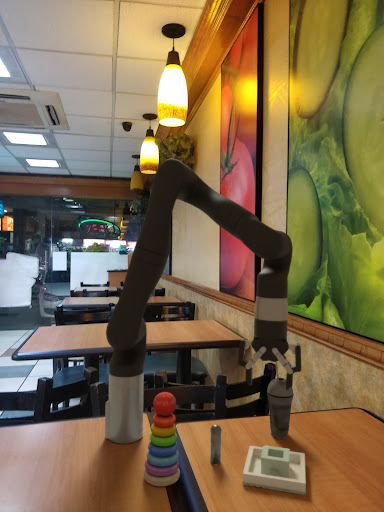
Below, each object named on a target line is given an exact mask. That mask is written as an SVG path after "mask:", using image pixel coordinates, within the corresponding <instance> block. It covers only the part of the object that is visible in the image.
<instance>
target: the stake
mask: <svg viewBox="0 0 384 512" xmlns="http://www.w3.org/2000/svg"><path fill="white" fill-rule="evenodd" d="M221 444H222V428H221V425H219V424H213V425H212V426H211V428H210V464H212V465H215V464H217V465H220V464H221V458H222V453H221V452H222V450H221V449H222V447H221V446H222V445H221Z"/></svg>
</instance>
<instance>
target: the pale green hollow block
mask: <svg viewBox="0 0 384 512" xmlns="http://www.w3.org/2000/svg"><path fill="white" fill-rule="evenodd" d="M262 447H263V451H262V456H261V474H265V475H271V476H278V477H284V478H289V464H290V450H291V449H290V448H286V447H285V448H284V447H280V446H279V447H278V446H272V445H266V444H265V445H263V446H262Z"/></svg>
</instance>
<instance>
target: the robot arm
mask: <svg viewBox="0 0 384 512" xmlns="http://www.w3.org/2000/svg"><path fill="white" fill-rule="evenodd" d="M177 200H179V201H182V202H184V203H186V204H189V205H191V206H193V207H195V208H196V209H198V210H200V211H201V212H203V213H204V214H205V215H206V216H208V218H210V219H211V220H212V221H213V222H214V223H215V224H216V225H217V226H219V227H220V228H221V229H223V230H224V231H226V232H227V233H228V234H230V235H231V236H233V237H234V238H236V239H237V240H239V241H240V242H241V243H243V245H244V246H246V247H247V249H248V250H250V252H252V253H253V254H254V255H255V256H257V257H258V258H261V259H263V261H262V268H261V271H260V272H259V273H258V274H257V279H256V292H255V294H256V296H255V302H254V310H253V311H254V312H253V315H254V319H253V320H254V321H253V322H254V323H253V325H254V326H253V339H252V340H249V339H246V338H245V337H244V338H241V340H240V341H239V346H238V347H239V348H238V357H237V358H238V359H237V365H238V366H240V367H243V368H244V369H245V379H244V381H245V383H247V386H251V387H252V385H253V374H254V373H253V369H254V368H253V366H254V365H255V364H256V363H257V362H258V361H259V359H260V360H261V361H262V362H267V361H269V362H272V363H275V362H279V363H280V364H281V366H282V367H283V368H284V369H285V371H286V374H285V375H286V377H285V379H286V390H289V388H293V383H294V380H293V379H294V374H295V373H301V371H302V345H301V344H300V343H299V342H297V343H295V344H290V343H289V342H288V323H289V322H288V317H289V304H288V290H289V289H288V286H289V285H288V283H289V280H288V278H289V274H290V270H291V265H292V264H291V263H292V258H293V249H294V248H293V242H292V239H291V237H290V236H289V234H287V233H286V232H285V231H282V230H277V229H274V228H272V227H270V226H268V225H267V224H266V223H264V222H262V221H261V220H259V218H258V217H257V215H256V214H254V213H252V211H250V210H248V209H246V208H245V207H243V206H242V205H240V204H239V203H237V202H235V201H234V200H232V199H230V198H228V197H226V196H224V195H222V194H221V193H219V192H218V191H216V190H214V189H213V188H212V187H211V186H209V184H207V183H206V182H205V181H204V180H203V179H202V178H201V177H199V175H198V174H197V173H196V171H194V169H192V168H191V167H190V166H188V165H186V164H185V163H184V162H182V161H181V160H178V159H177V158H168V159H165V160H164V161H163V162H161V163H160V165H159V166H158V168H157V170H156V171H155V174H154V177H153V182H152V186H151V191H150V195H149V199H148V203H147V204H148V205H147V208H146V211H145V215H144V217H143V218H144V219H143V222H142V224H141V228H140V232H139V235H138V237H137V240H136V242H135V245H134V248H133V252H132V254H131V258H130V261H129V265H128V268H127V272H126V274H125V278H124V281H123V286H122V289H121V292H120V295H119V298H118V300H117V302H116V305H115V306H114V310H113V312H112V314H111V316H110V319H109V320H108V322H107V325H106V330H105V336H106V340H107V343H108V344H109V346H110V347H111V348H112V349H113V351H112V355H111V359H110V361H109V363H108V400H107V401H106V402H105V406H104V407H105V409H104V410H105V414H104V417H105V418H104V420H105V422H104V439H108V440H109V441H111V442H113V443H116V444H130V443H131V444H132V443H135V442H137V441H139V440H141V439H142V437H143V435H144V434H143V431H144V425H143V424H144V375H145V374H144V371H145V369H144V368H145V367H144V366H145V362H146V357H147V338H148V337H147V335H148V330H147V323H146V320H145V319H144V314H145V310H146V307H147V304H148V302H149V300H150V298H151V296H152V294H153V292H154V291H155V289H156V287H157V285H158V284H159V282H160V280H161V278H162V275H163V274H164V270H165V269H166V265H167V262H168V260H169V256H170V253H171V248H172V230H171V228H172V226H171V219H172V214H173V211H174V207H175V204H176V201H177ZM250 346H251V348H252V349H253V351H254V354H253V355H252V356H251V357H250V359H249V360H246V359H245V358H246V350H248V349H249V347H250ZM289 350H290V351H291V353H292V354H293V355H295V356H294V359H295V362H294V363H295V365H292V364H291V363H290V361H289V359H288V357H287V356H286V354H287V352H288V351H289Z"/></svg>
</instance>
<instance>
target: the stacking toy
mask: <svg viewBox="0 0 384 512" xmlns="http://www.w3.org/2000/svg"><path fill="white" fill-rule="evenodd" d="M152 404H153V405H152V406H153V409H154V412H155V414H154V415H153V417H152V424H151V427H150V431H151V433H150V435H149V442H148V445H147V448H148V451H147V453H146V459H145V462H144V471H143V478H144V480H145V481H146V482H147V483H148V484H150V485H151V486H155V487H167V486H171V485H173V484H175V483H176V482H177V481H178V480H179V478H180V477H181V476H180V475H181V471H180V467H179V466H180V464H179V451H178V443H177V440H178V435H177V432H176V431H177V427H176V425H175V423H176V421H177V419H176V416H175V414H174V412H175V411H176V407H177V400H176V397H175V396H174V395H173V394H172V393H171V392H169V391H162V392H159V393H158V394H157V395H155V397H154V399H153V403H152Z"/></svg>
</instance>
